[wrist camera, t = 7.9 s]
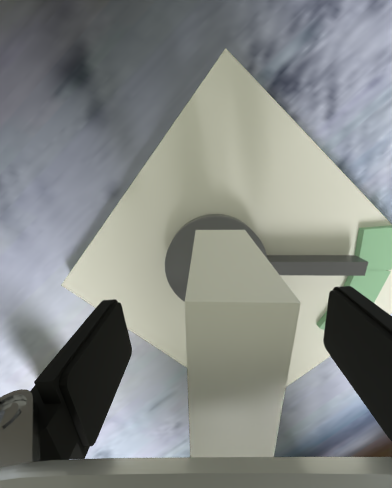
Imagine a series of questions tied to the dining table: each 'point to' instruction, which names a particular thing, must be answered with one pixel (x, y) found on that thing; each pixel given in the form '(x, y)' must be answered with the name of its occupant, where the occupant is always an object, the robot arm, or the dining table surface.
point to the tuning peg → (238, 330)
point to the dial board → (235, 214)
